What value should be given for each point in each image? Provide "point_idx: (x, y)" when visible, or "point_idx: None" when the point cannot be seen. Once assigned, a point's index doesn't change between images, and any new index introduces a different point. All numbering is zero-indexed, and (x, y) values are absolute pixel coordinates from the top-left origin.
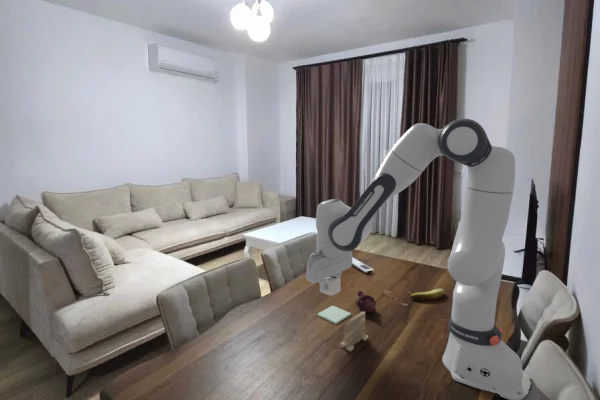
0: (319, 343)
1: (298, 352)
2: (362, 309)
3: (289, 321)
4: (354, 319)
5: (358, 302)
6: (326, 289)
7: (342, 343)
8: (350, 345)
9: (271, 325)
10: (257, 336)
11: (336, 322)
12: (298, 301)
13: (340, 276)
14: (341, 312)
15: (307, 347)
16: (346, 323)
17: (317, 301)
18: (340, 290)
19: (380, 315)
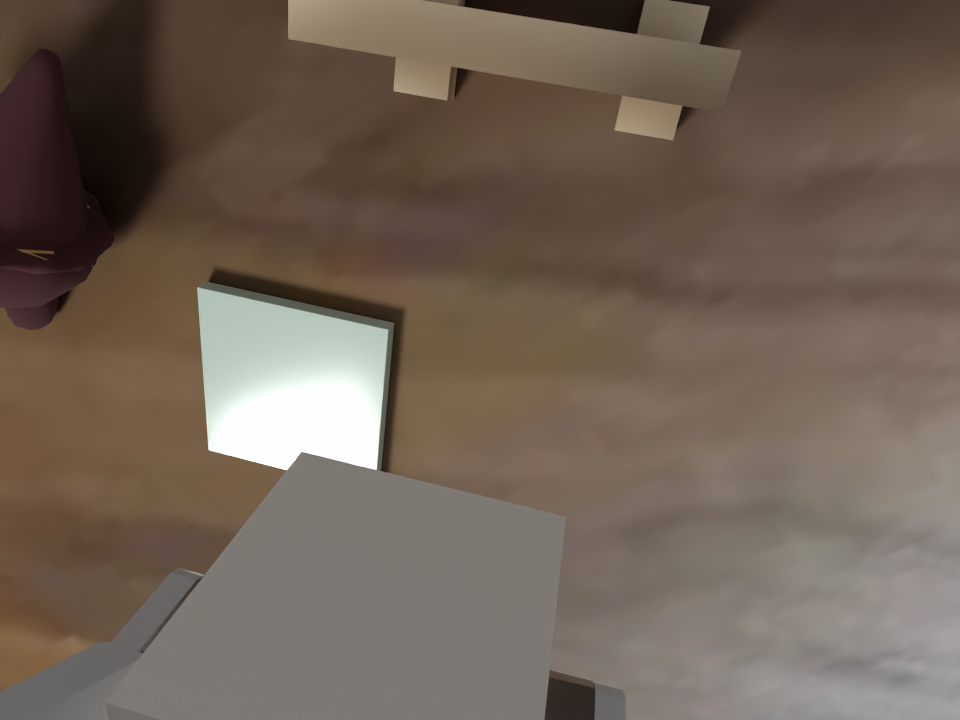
0: (712, 310)
1: (911, 390)
2: (90, 224)
3: (559, 597)
4: (553, 22)
5: (59, 278)
6: (570, 682)
7: (658, 123)
8: (651, 36)
9: (666, 664)
10: (832, 682)
11: (382, 326)
12: None
13: (37, 683)
14: (240, 355)
15: (811, 364)
16: (731, 65)
17: None
18: (298, 461)
19: (26, 59)
